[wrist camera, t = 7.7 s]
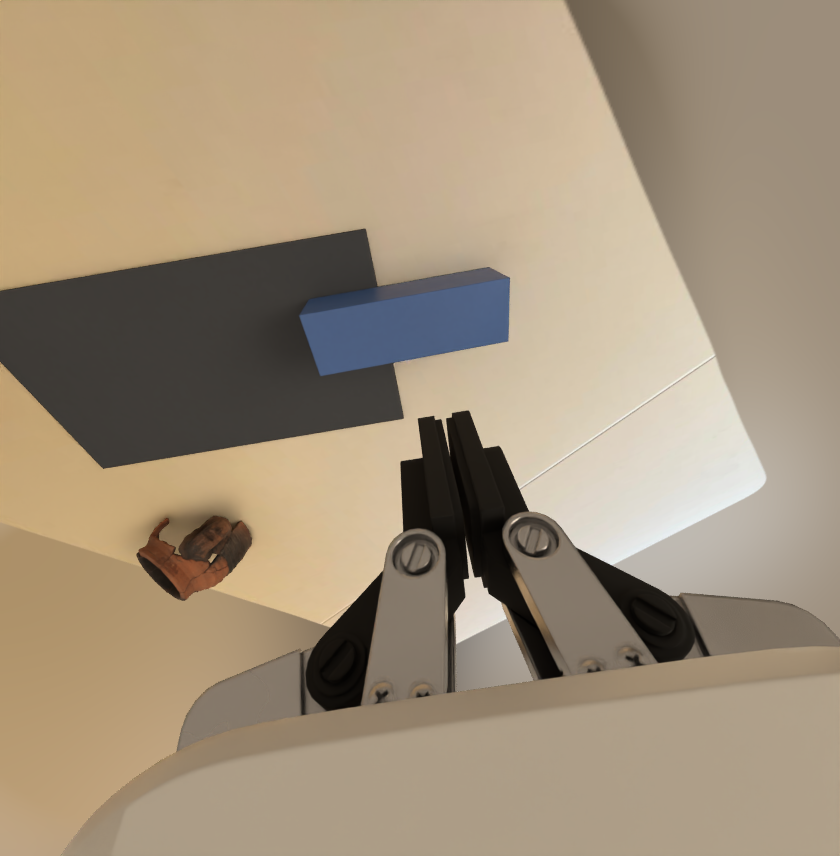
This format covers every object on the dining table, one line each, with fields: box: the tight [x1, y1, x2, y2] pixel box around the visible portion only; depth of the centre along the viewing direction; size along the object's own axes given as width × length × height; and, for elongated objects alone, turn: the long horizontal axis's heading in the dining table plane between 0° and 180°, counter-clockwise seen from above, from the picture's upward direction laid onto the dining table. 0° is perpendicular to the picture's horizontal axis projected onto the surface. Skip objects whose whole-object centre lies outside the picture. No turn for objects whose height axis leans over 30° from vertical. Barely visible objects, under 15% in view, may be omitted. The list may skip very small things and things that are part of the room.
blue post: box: [299, 267, 510, 376], centre depth 24 cm, size 4×4×14 cm
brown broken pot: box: [137, 516, 252, 601], centre depth 36 cm, size 12×10×8 cm
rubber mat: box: [0, 229, 404, 469], centre depth 27 cm, size 16×30×1 cm, turn 98°
